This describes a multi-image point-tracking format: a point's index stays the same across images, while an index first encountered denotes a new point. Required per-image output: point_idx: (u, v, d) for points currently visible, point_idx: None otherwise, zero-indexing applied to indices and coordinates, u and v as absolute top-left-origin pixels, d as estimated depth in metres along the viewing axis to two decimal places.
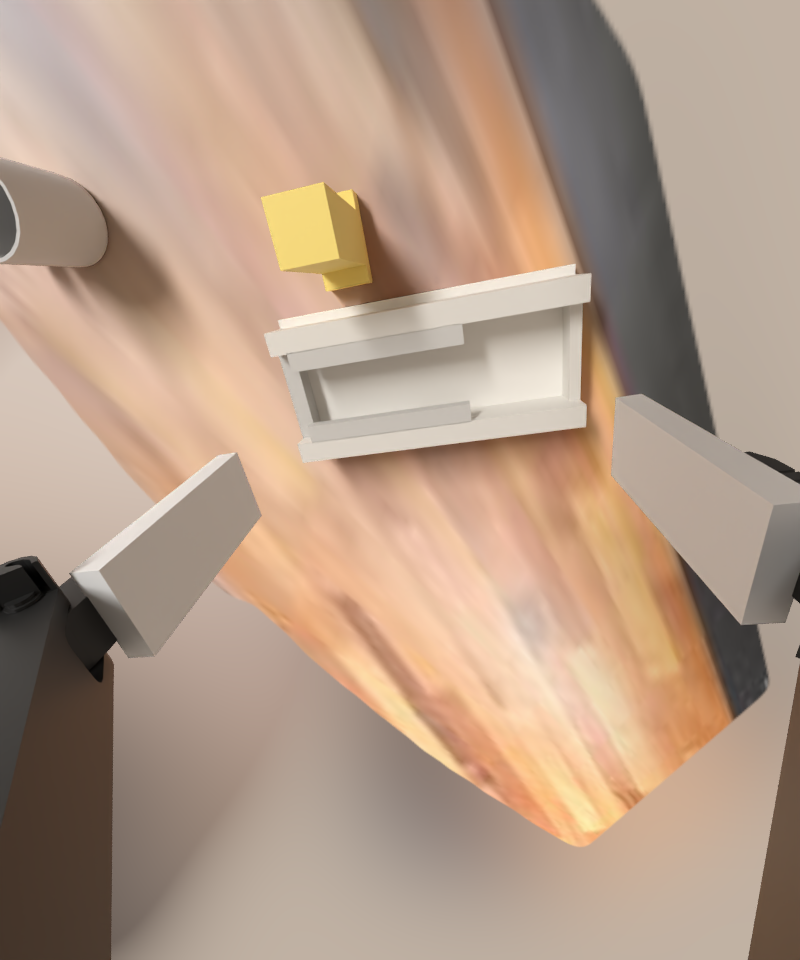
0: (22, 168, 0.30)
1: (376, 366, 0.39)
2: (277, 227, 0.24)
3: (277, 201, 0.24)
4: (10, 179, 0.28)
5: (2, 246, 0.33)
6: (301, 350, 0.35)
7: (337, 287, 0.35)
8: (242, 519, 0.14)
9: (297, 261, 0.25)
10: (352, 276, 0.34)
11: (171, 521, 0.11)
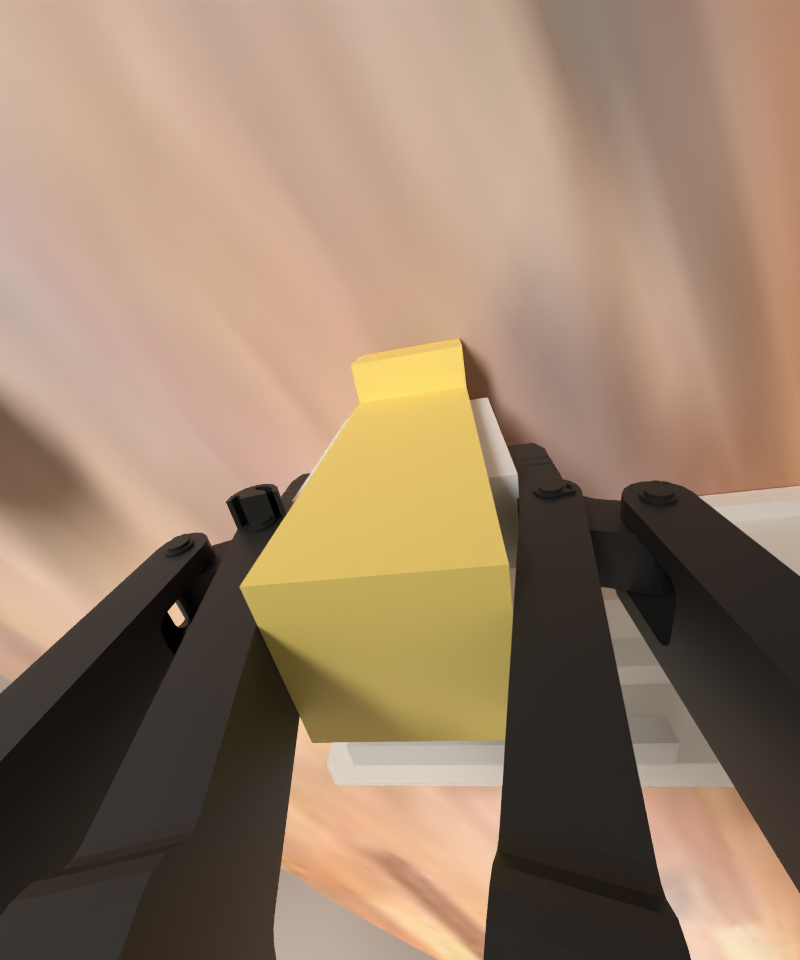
0: None
1: None
2: (304, 660, 0.07)
3: (306, 601, 0.06)
4: None
5: None
6: None
7: None
8: None
9: (372, 732, 0.07)
10: None
11: None
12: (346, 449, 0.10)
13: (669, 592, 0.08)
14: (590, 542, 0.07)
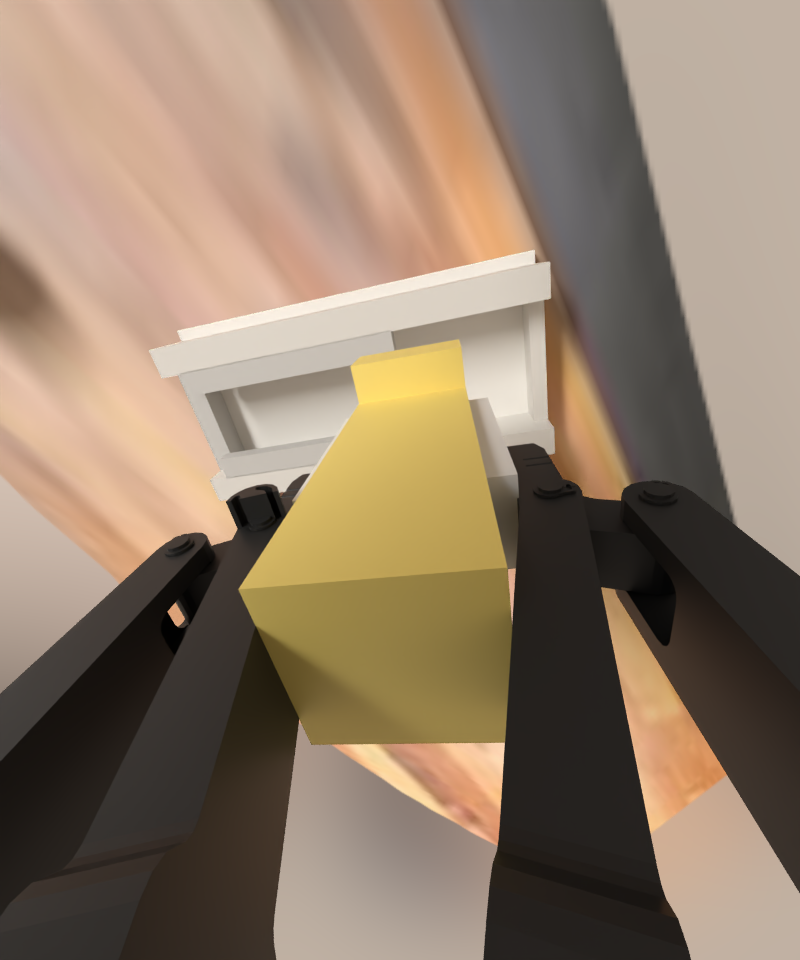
0: None
1: (301, 383, 0.32)
2: (303, 662, 0.07)
3: (304, 604, 0.06)
4: None
5: None
6: (197, 369, 0.28)
7: None
8: None
9: (371, 734, 0.07)
10: None
11: None
12: (345, 451, 0.11)
13: (668, 591, 0.08)
14: (590, 542, 0.07)
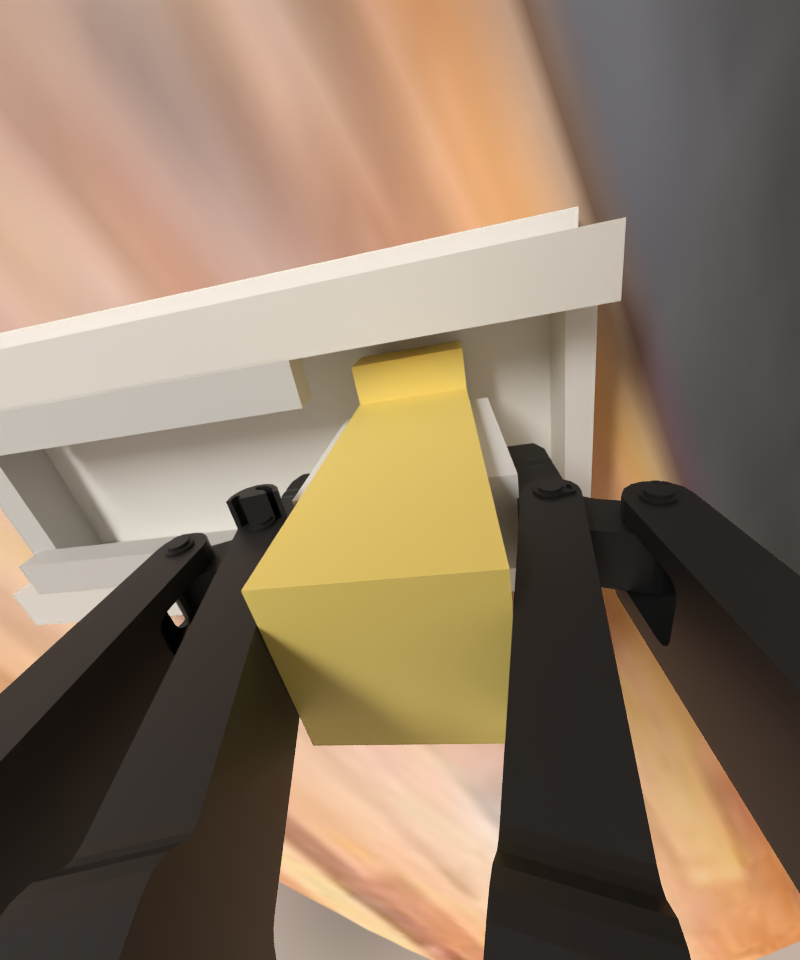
0: None
1: (170, 436, 0.19)
2: (305, 663, 0.07)
3: (307, 606, 0.06)
4: None
5: None
6: None
7: None
8: None
9: (373, 735, 0.07)
10: None
11: None
12: (347, 452, 0.11)
13: (669, 591, 0.08)
14: (590, 542, 0.07)
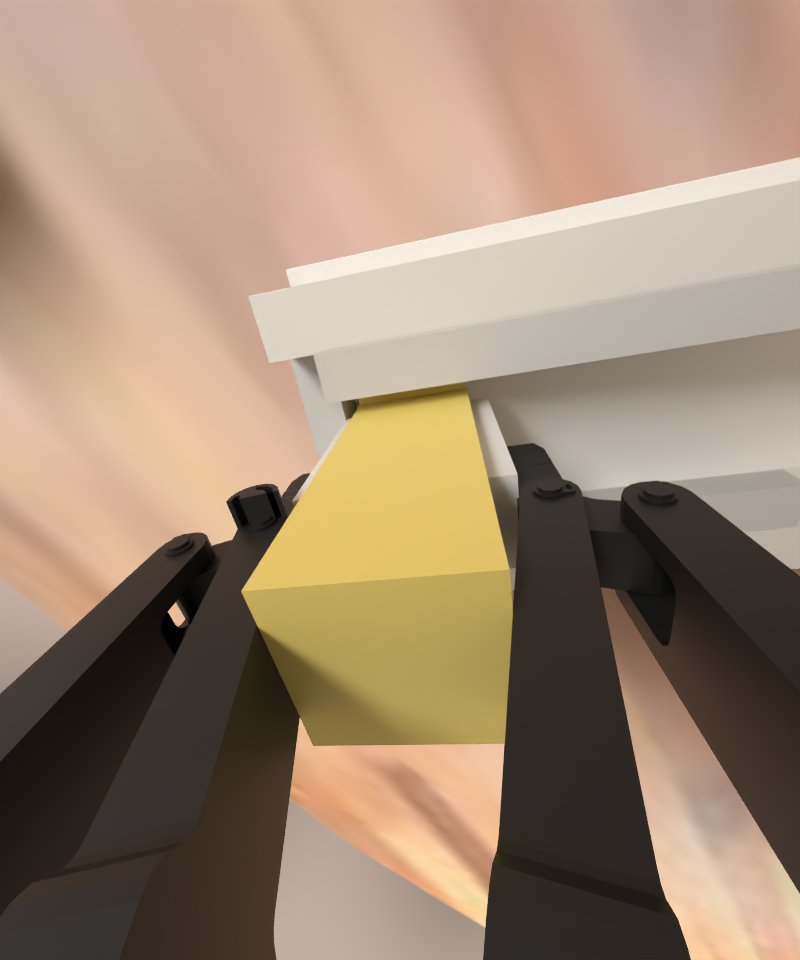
0: None
1: (520, 381, 0.16)
2: (305, 664, 0.07)
3: (307, 606, 0.06)
4: None
5: None
6: (355, 343, 0.12)
7: None
8: None
9: (372, 735, 0.07)
10: None
11: None
12: (347, 452, 0.11)
13: (668, 591, 0.08)
14: (590, 542, 0.07)
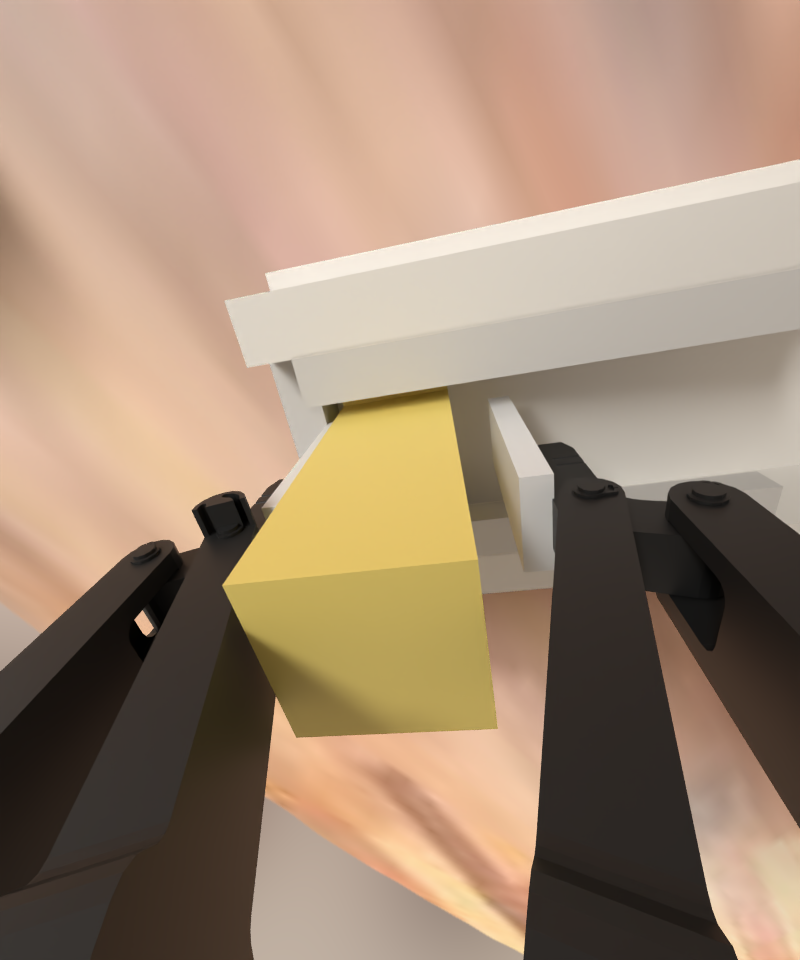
0: None
1: (501, 384, 0.16)
2: (286, 656, 0.07)
3: (287, 598, 0.06)
4: None
5: None
6: (333, 347, 0.12)
7: None
8: None
9: (354, 725, 0.08)
10: None
11: None
12: (329, 452, 0.11)
13: (714, 595, 0.08)
14: (634, 546, 0.06)
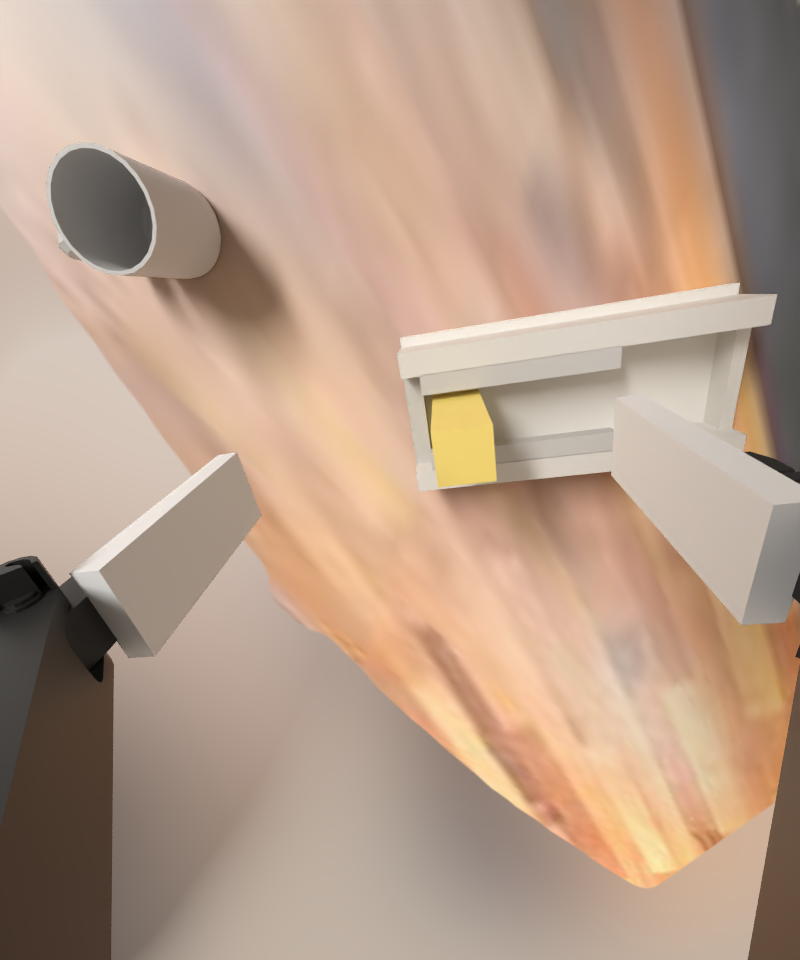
0: (154, 171, 0.27)
1: (502, 388, 0.36)
2: (441, 455, 0.26)
3: (445, 436, 0.26)
4: (149, 183, 0.25)
5: (117, 256, 0.30)
6: (436, 372, 0.32)
7: None
8: (242, 519, 0.14)
9: (456, 481, 0.27)
10: None
11: (171, 521, 0.11)
12: (438, 410, 0.30)
13: None
14: None
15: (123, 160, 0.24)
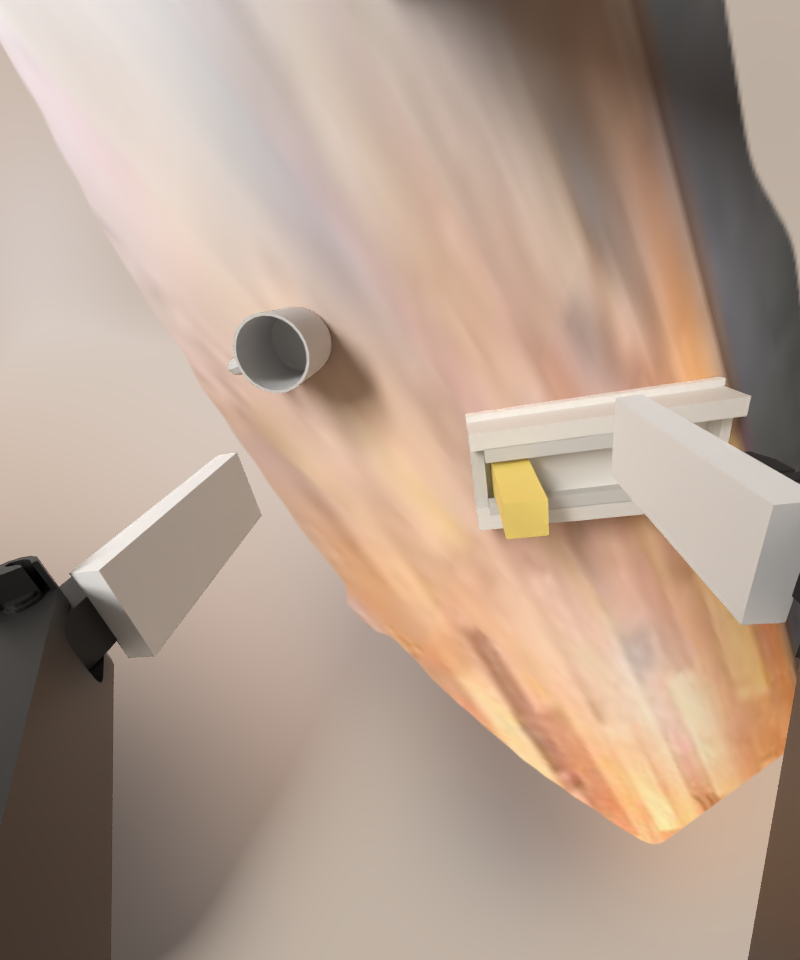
0: (301, 318, 0.38)
1: None
2: (510, 518, 0.37)
3: (514, 506, 0.37)
4: (304, 333, 0.36)
5: (264, 370, 0.41)
6: (497, 447, 0.43)
7: None
8: (242, 519, 0.14)
9: (519, 535, 0.38)
10: None
11: (171, 521, 0.11)
12: (501, 478, 0.41)
13: None
14: None
15: (291, 323, 0.35)
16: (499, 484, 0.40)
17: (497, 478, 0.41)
